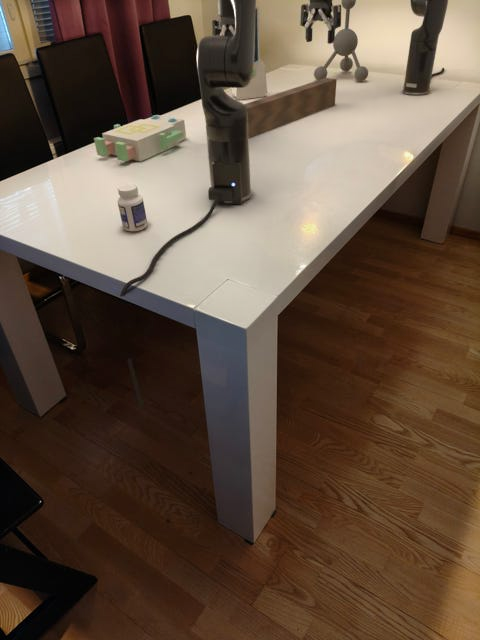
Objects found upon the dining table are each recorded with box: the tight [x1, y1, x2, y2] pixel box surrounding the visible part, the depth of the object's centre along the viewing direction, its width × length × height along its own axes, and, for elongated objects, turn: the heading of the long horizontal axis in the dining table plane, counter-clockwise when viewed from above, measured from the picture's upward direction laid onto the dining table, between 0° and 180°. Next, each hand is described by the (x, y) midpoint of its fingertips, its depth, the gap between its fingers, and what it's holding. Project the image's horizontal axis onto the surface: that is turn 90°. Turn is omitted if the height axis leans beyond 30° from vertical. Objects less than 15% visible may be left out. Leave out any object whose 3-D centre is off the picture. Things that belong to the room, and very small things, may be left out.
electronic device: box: [231, 5, 268, 101], centre depth 180 cm, size 12×8×30 cm, turn 105°
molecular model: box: [313, 0, 369, 82], centre depth 196 cm, size 24×22×30 cm
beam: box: [243, 77, 338, 139], centre depth 157 cm, size 54×4×9 cm, turn 136°
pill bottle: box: [117, 182, 148, 232], centre depth 102 cm, size 5×5×9 cm
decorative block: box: [93, 114, 187, 162], centre depth 144 cm, size 26×6×20 cm
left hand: (234, 63), depth 137 cm, fingers open, 8 cm apart
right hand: (319, 42), depth 158 cm, fingers open, 8 cm apart
